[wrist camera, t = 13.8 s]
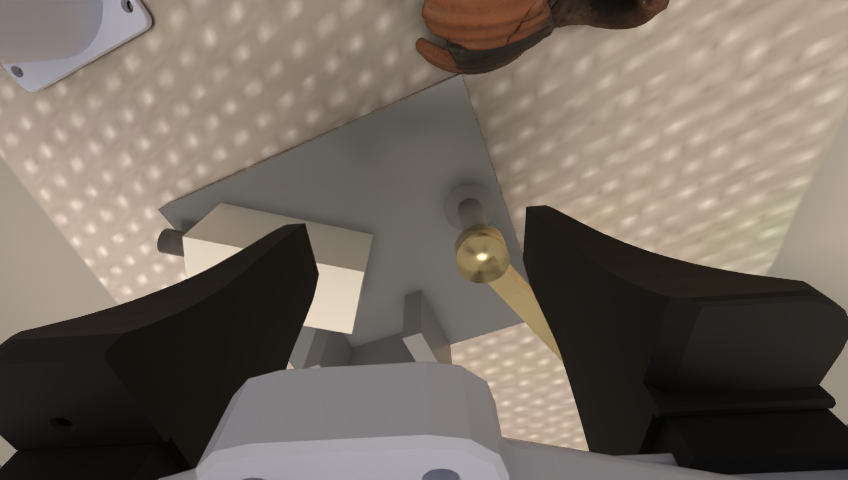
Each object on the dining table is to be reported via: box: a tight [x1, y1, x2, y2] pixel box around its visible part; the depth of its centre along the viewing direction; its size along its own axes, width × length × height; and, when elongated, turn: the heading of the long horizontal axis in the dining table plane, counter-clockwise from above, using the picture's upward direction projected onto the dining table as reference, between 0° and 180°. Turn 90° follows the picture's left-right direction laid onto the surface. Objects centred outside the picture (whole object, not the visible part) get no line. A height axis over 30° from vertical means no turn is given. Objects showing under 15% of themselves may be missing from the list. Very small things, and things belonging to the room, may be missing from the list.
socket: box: [159, 73, 531, 369], centre depth 22 cm, size 17×19×5 cm
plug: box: [157, 203, 373, 334], centre depth 21 cm, size 11×4×4 cm, turn 76°
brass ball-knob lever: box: [455, 224, 563, 362], centre depth 19 cm, size 2×13×1 cm, turn 40°
